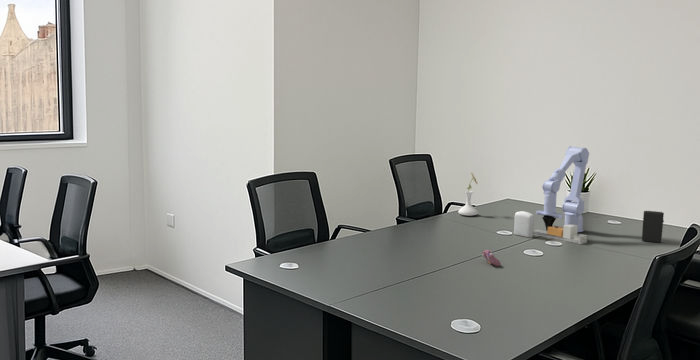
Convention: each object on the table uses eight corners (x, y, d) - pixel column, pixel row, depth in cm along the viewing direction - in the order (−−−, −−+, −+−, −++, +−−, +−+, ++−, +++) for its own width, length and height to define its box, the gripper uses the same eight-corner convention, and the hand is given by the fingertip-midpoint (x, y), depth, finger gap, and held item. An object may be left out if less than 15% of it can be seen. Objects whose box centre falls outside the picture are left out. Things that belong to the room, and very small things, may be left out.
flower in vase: (473, 217, 391) (475, 174, 388) (455, 215, 397) (456, 172, 393) (481, 214, 402) (483, 171, 399) (463, 212, 408) (464, 170, 404)
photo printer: (512, 234, 350) (513, 210, 349) (517, 233, 353) (518, 209, 351) (529, 238, 343) (530, 213, 341) (534, 237, 345) (535, 212, 343)
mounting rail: (537, 232, 357) (537, 225, 356) (587, 242, 335) (587, 235, 334) (530, 233, 353) (530, 226, 353) (580, 244, 331) (581, 237, 331)
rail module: (569, 235, 342) (570, 223, 341) (576, 237, 339) (577, 225, 338) (562, 237, 339) (563, 225, 338) (570, 238, 336) (570, 226, 335)
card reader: (661, 241, 339) (664, 211, 337) (661, 243, 335) (664, 213, 333) (641, 239, 343) (644, 210, 340) (641, 241, 339) (643, 211, 337)
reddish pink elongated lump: (485, 264, 299) (478, 250, 298) (494, 259, 299) (488, 245, 298) (492, 270, 290) (485, 255, 288) (502, 265, 290) (495, 251, 288)
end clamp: (554, 232, 349) (554, 224, 348) (568, 235, 343) (568, 227, 342) (547, 233, 345) (547, 225, 344) (561, 236, 339) (561, 228, 338)
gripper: (533, 202, 349) (531, 229, 351) (558, 207, 338) (556, 234, 340) (541, 201, 353) (540, 227, 355) (566, 205, 342) (564, 232, 344)
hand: (548, 230), depth 348 cm, fingers closed
